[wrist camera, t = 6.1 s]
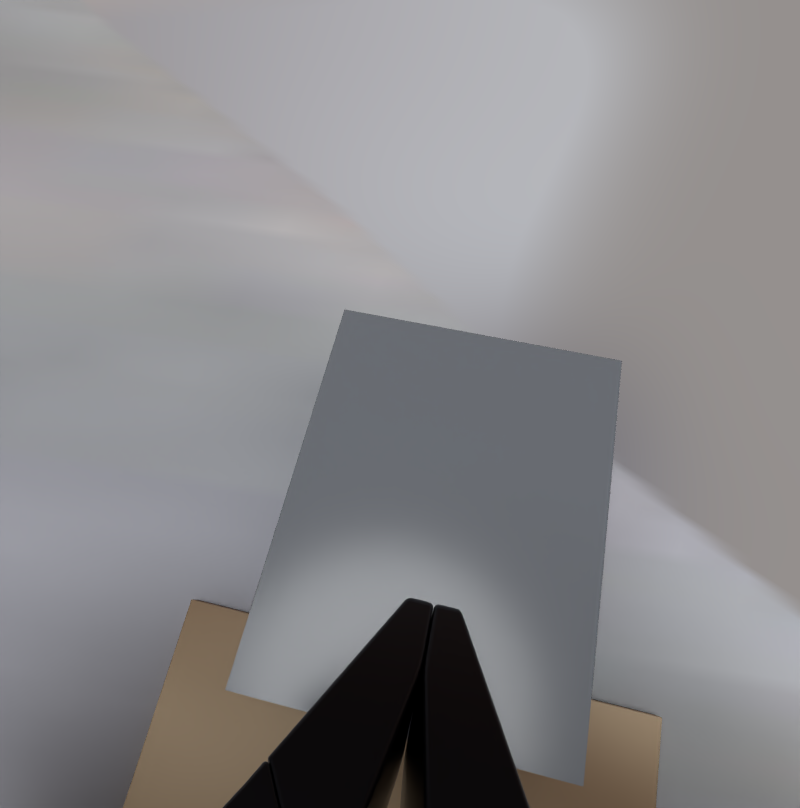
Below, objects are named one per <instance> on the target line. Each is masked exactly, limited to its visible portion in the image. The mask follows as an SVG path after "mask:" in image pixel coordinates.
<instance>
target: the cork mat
mask: <svg viewBox="0 0 800 808" xmlns="http://www.w3.org/2000/svg"><path fill="white" fill-rule="evenodd" d="M248 615H249V613H248V612H244V611H240V610H236V609H232V608H228V607H224V606H220V605H216V604H212V603H208V602H204V601H200V600H191V603H190V606H189V609H188V612H187V615H186V618H185V621H184V624H183V627H182V630H181V633H180V636H179V639H178V642H177V645H176V648H175V651H174V654H173V657H172V660H171V663H170V666H169V669H168V672H167V675H166V679H165V682H164V685H163V688H162V691H161V694H160V697H159V700H158V703H157V706H156V709H155V712H154V715H153V718H152V721H151V724H150V727H149V730H148V733H147V736H146V739H145V742H144V745H143V748H142V751H141V754H140V757H139V760H138V763H137V766H136V769H135V772H134V776H133V779H132V782H131V785H130V788H129V791H128V794H127V797H126V800H125V803H124V806H123V808H222V807H223V806H224V805H225V804H226V803H227V802H228V801H229V800H230V799H231V798H232V797H233V796H234V794H235V793H236V792H237V791H238V790H239V789H240V788H241V787H242V786H243V785H244V784H245V782H246V781H247V780H248V779H249V778H250V777H251V776H252V774H253V773H254V772H255V771H256V770H257V769H258V768H259V766H260V765H261V764H262V763H263V762H265V761H266V762H268V757H269V755H270V754H271V753H272V752H273V751H274V750H275V749H276V747H277V746H278V745H279V744H280V743H281V742H282V741H283V739H284V738H285V737H286V736H287V735H288V734H289V733H290V731H291V730H292V729H293V728H294V727H295V726H296V724H297V723H298V722H299V721H300V720H301V719H302V718H303V716H304V715H305V714H306V713H307V712H305V711H301V710H297V709H293V708H290V707H286V706H282V705H279V704H275V703H271V702H267V701H264V700H260V699H256V698H253V697H249V696H245V695H241V694H238V693H234V692H230V691H227V690H225V689H226V685H227V682H228V679H229V676H230V673H231V670H232V666H233V663H234V660H235V657H236V654H237V650H238V647H239V644H240V641H241V638H242V635H243V631H244V628H245V625H246V622H247V619H248ZM661 724H662V718H661V717H659V716H656V715H653V714H649V713H645V712H641V711H637V710H633V709H629V708H625V707H621V706H617V705H613V704H609V703H605V702H601V701H597V700H594V699H591V708H590V719H589V730H588V742H587V753H586V764H585V775H584V786H579V785H576V784H572V783H568V782H564V781H561V780H557V779H553V778H550V777H546V776H542V775H538V774H535V773H531V772H527V771H524V770H520V769H517V772H518V775H519V778H520V781H521V783H522V786H523V789H524V792H525V795H526V798H527V801H528V804H529V806H530V808H656V796H657V782H658V767H659V753H660V739H661ZM406 744H407V741H406ZM405 751H406V746H405V750H404V755H403V758H402V762H401V765H400V769H399V772H398V775H397V779H396V782H395V785H394V788H393V791H392V794H391V798H390V801H389V804H388V807H387V808H400V802H401V789H402V777H403V766H404V757H405Z"/></svg>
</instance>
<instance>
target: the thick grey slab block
mask: <svg viewBox="0 0 800 808" xmlns="http://www.w3.org/2000/svg"><path fill="white" fill-rule="evenodd" d="M621 364H622V361H620V360H615V359H609V358H603V357H598V356H593V355H588V354H582V353H577V352H571V351H566V350H560V349H555V348H550V347H544V346H539V345H533V344H527V343H522V342H517V341H512V340H506V339H501V338H496V337H490V336H485V335H479V334H474V333H468V332H463V331H458V330H452V329H447V328H441V327H436V326H431V325H425V324H420V323H414V322H409V321H404V320H398V319H393V318H387V317H382V316H376V315H371V314H366V313H360V312H355V311H349V310H344V313H343V316H342V320H341V323H340V326H339V329H338V332H337V335H336V339H335V342H334V345H333V348H332V351H331V355H330V358H329V361H328V364H327V367H326V370H325V374H324V377H323V380H322V383H321V386H320V390H319V393H318V396H317V399H316V402H315V405H314V409H313V412H312V415H311V418H310V421H309V425H308V428H307V431H306V434H305V437H304V440H303V444H302V447H301V450H300V453H299V456H298V460H297V463H296V466H295V469H294V472H293V475H292V479H291V482H290V485H289V488H288V491H287V495H286V498H285V501H284V504H283V507H282V510H281V514H280V517H279V520H278V523H277V526H276V530H275V533H274V536H273V539H272V542H271V545H270V549H269V552H268V555H267V558H266V561H265V565H264V568H263V571H262V574H261V577H260V580H259V584H258V587H257V590H256V593H255V596H254V600H253V603H252V606H251V609H250V612H249V615H248V619H247V622H246V625H245V628H244V631H243V635H242V638H241V641H240V644H239V647H238V650H237V654H236V657H235V660H234V663H233V666H232V670H231V673H230V676H229V679H228V682H227V685H226V689H225V690H227V691H230V692H234V693H238V694H241V695H245V696H249V697H253V698H256V699H260V700H264V701H267V702H271V703H275V704H279V705H282V706H286V707H290V708H293V709H297V710H301V711H305V712H308V711H309V710H310V708H311V707H312V706H313V705H314V704H315V703H316V702H317V700H318V699H319V698H320V697H321V696H322V695H323V694H324V692H325V691H326V690H327V689H328V688H329V687H330V686H331V684H332V683H333V682H334V681H335V680H336V679H337V678H338V676H339V675H340V674H341V673H342V672H343V671H344V670H345V668H346V667H347V666H348V665H349V664H350V663H351V662H352V660H353V659H354V658H355V657H356V656H357V655H358V654H359V652H360V651H361V650H362V649H363V648H364V647H365V645H366V644H367V643H368V642H369V641H370V640H371V639H372V637H373V636H374V635H375V634H376V633H377V632H378V631H379V629H380V628H381V627H382V626H383V625H384V624H385V623H386V621H387V620H388V619H389V618H390V617H391V616H392V615H393V613H394V612H395V611H396V610H397V609H398V608H399V607H400V605H401V604H402V603H403V602H404V601H405V600H406V599H407V598H414V599H419V600H423V601H427V602H430V603H431V604H432V605H433V608H434V606H435V605H437V604H439V605H443V606H447V607H452V608H456V609H459V610H460V611H461V613H462V614H463V617H464V620H465V623H466V626H467V629H468V631H469V634H470V637H471V640H472V643H473V646H474V649H475V652H476V654H477V657H478V660H479V663H480V666H481V669H482V672H483V674H484V677H485V680H486V683H487V686H488V689H489V692H490V695H491V697H492V700H493V703H494V706H495V709H496V712H497V715H498V717H499V720H500V723H501V726H502V729H503V732H504V735H505V738H506V740H507V743H508V746H509V749H510V752H511V755H512V758H513V760H514V763H515V766H516V769H520V770H524V771H527V772H531V773H535V774H538V775H542V776H546V777H550V778H553V779H557V780H561V781H564V782H568V783H572V784H576V785H579V786H584V775H585V764H586V753H587V742H588V730H589V719H590V708H591V697H592V686H593V675H594V664H595V653H596V642H597V631H598V620H599V608H600V597H601V586H602V575H603V564H604V553H605V542H606V531H607V520H608V509H609V498H610V486H611V475H612V464H613V453H614V441H615V431H616V420H617V409H618V398H619V387H620V375H621ZM432 613H433V612H432ZM410 723H411V722H410ZM409 728H410V727H409ZM408 733H409V732H408ZM407 738H408V737H407Z"/></svg>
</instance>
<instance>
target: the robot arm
mask: <svg viewBox="0 0 800 808" xmlns="http://www.w3.org/2000/svg"><path fill="white" fill-rule="evenodd" d="M432 612H433V613H432ZM410 722H411V723H410ZM409 727H410V728H409ZM408 732H409V733H408ZM407 737H408V738H407ZM406 741H407V744H406ZM405 746H406V751H405V757H404V766H403V777H402V789H401V802H400V808H530V806H529V804H528V801H527V798H526V795H525V792H524V789H523V786H522V783H521V781H520V778H519V775H518V772H517V769H516V766H515V763H514V760H513V758H512V755H511V752H510V749H509V746H508V743H507V740H506V738H505V735H504V732H503V729H502V726H501V723H500V720H499V717H498V715H497V712H496V709H495V706H494V703H493V700H492V697H491V695H490V692H489V689H488V686H487V683H486V680H485V677H484V674H483V672H482V669H481V666H480V663H479V660H478V657H477V654H476V652H475V649H474V646H473V643H472V640H471V637H470V634H469V631H468V629H467V626H466V623H465V620H464V617H463V614H462V613H461V611H460V610H459V609H456V608H452V607H447V606H443V605H439V604H437V605H435V606H434V608H433V605H432V604H431V603H430V602H427V601H423V600H419V599H414V598H407V599H406V600H405V601H404V602H403V603H402V604H401V605H400V607H399V608H398V609H397V610H396V611H395V612H394V613H393V615H392V616H391V617H390V618H389V619H388V620H387V621H386V623H385V624H384V625H383V626H382V627H381V628H380V629H379V631H378V632H377V633H376V634H375V635H374V636H373V637H372V639H371V640H370V641H369V642H368V643H367V644H366V645H365V647H364V648H363V649H362V650H361V651H360V652H359V654H358V655H357V656H356V657H355V658H354V659H353V660H352V662H351V663H350V664H349V665H348V666H347V667H346V668H345V670H344V671H343V672H342V673H341V674H340V675H339V676H338V678H337V679H336V680H335V681H334V682H333V683H332V684H331V686H330V687H329V688H328V689H327V690H326V691H325V692H324V694H323V695H322V696H321V697H320V698H319V699H318V700H317V702H316V703H315V704H314V705H313V706H312V707H311V708H310V710H309V711H308V712H307V713H306V714H305V715H304V716H303V718H302V719H301V720H300V721H299V722H298V723H297V724H296V726H295V727H294V728H293V729H292V730H291V731H290V733H289V734H288V735H287V736H286V737H285V738H284V739H283V741H282V742H281V743H280V744H279V745H278V746H277V747H276V749H275V750H274V751H273V752H272V753H271V754H270V755H269V757H268V762H266V761H265V762H263V763H262V764H261V765H260V766H259V768H258V769H257V770H256V771H255V772H254V773H253V774H252V776H251V777H250V778H249V779H248V780H247V781H246V782H245V784H244V785H243V786H242V787H241V788H240V789H239V790H238V791H237V792H236V793H235V794H234V796H233V797H232V798H231V799H230V800H229V801H228V802H227V803H226V804H225V805H224V806H223V807H222V808H387V807H388V804H389V801H390V798H391V794H392V791H393V788H394V785H395V782H396V779H397V775H398V772H399V769H400V765H401V762H402V758H403V755H404V750H405Z"/></svg>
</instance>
